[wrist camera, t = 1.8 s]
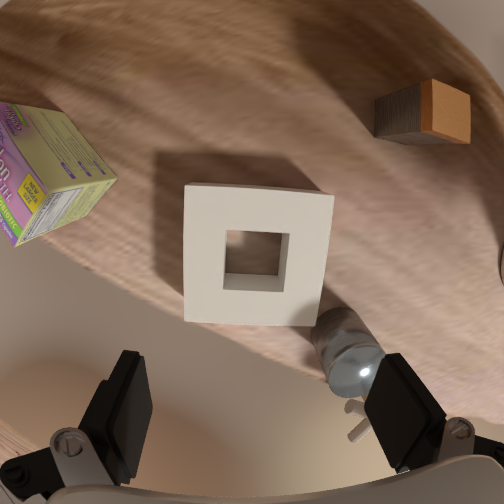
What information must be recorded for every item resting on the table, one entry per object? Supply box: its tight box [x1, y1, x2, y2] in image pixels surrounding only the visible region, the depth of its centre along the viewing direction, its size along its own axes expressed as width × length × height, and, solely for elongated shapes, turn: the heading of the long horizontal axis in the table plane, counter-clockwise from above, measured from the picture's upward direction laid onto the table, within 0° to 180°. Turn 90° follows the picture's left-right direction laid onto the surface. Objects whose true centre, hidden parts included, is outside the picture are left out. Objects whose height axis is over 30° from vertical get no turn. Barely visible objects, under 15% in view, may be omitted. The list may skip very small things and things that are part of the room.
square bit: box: [374, 79, 471, 145], centre depth 20 cm, size 4×4×10 cm
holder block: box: [183, 182, 334, 326], centre depth 27 cm, size 12×12×4 cm
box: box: [0, 102, 118, 247], centre depth 19 cm, size 10×6×12 cm, turn 40°
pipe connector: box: [345, 392, 372, 443], centre depth 30 cm, size 10×10×10 cm
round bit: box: [311, 307, 386, 398], centre depth 28 cm, size 6×6×8 cm
